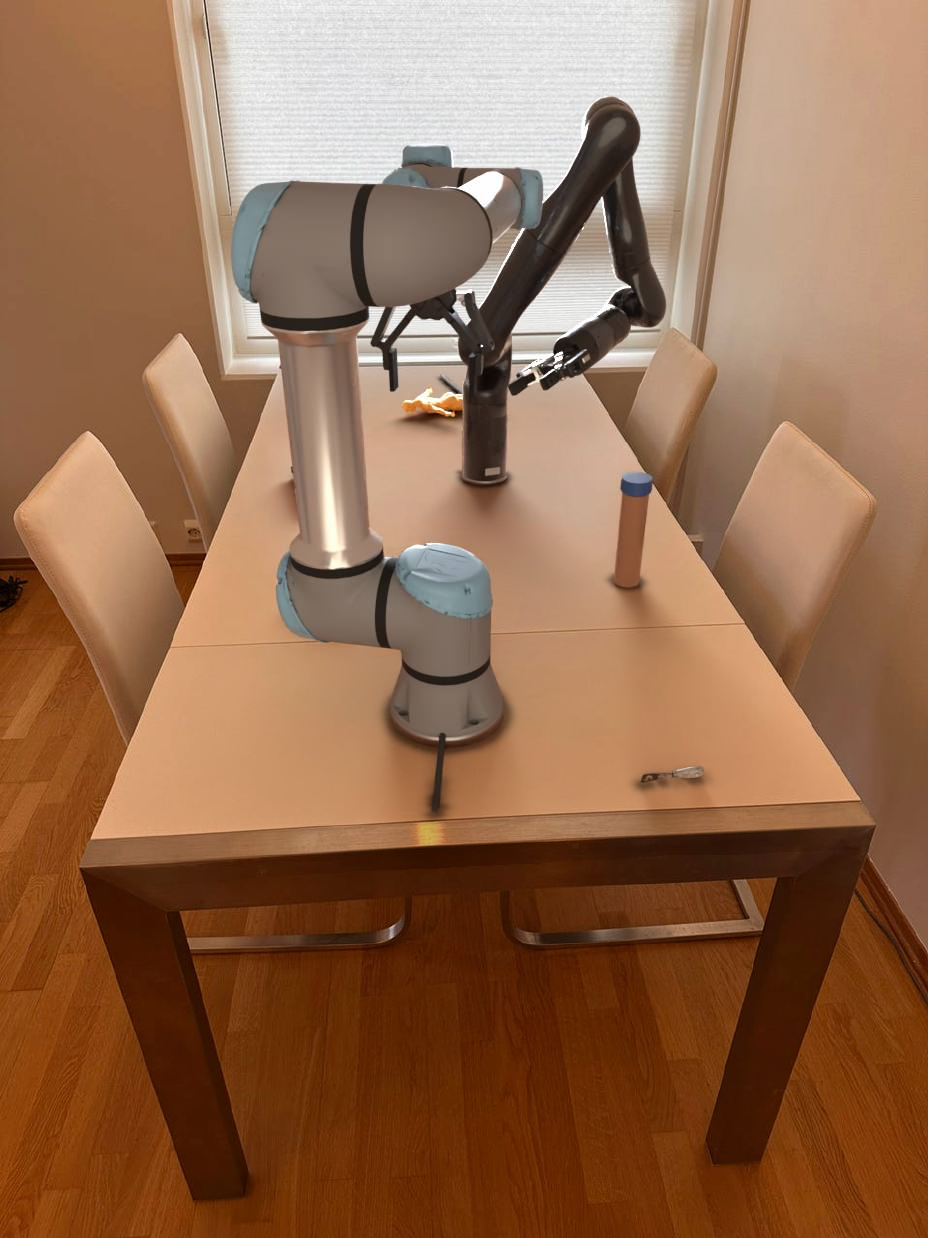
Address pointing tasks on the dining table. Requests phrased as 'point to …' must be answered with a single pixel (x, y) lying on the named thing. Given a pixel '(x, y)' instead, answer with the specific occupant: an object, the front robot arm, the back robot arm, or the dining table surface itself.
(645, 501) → the tall tan cylinder
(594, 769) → the dining table surface
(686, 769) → the putty knife
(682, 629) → the dining table surface
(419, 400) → the human figure
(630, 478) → the lid
